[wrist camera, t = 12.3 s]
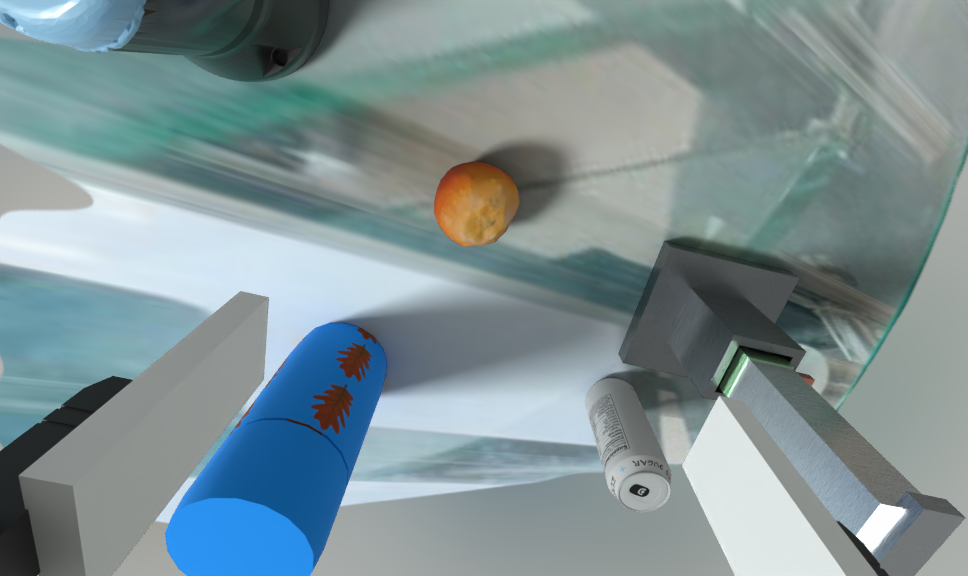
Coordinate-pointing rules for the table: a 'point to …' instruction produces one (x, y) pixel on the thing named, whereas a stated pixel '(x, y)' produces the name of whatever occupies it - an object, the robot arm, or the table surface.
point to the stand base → (708, 316)
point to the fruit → (475, 203)
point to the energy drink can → (627, 446)
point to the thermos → (283, 463)
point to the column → (841, 464)
